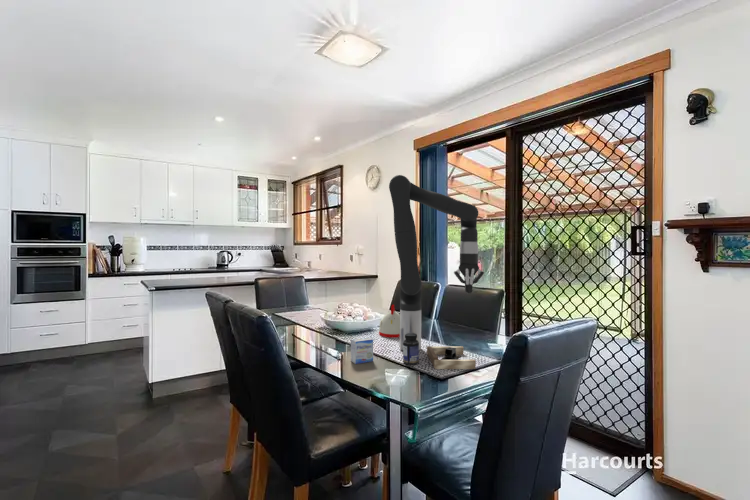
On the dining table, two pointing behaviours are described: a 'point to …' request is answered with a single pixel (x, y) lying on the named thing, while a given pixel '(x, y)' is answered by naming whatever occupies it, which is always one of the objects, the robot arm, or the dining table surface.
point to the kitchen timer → (390, 324)
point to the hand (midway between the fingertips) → (468, 293)
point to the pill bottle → (411, 349)
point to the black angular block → (450, 354)
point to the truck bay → (448, 364)
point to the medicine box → (361, 350)
